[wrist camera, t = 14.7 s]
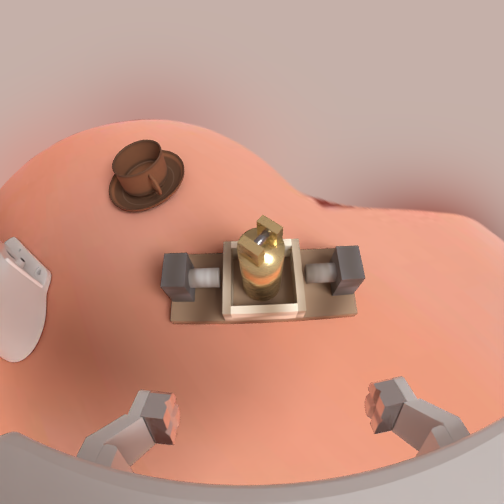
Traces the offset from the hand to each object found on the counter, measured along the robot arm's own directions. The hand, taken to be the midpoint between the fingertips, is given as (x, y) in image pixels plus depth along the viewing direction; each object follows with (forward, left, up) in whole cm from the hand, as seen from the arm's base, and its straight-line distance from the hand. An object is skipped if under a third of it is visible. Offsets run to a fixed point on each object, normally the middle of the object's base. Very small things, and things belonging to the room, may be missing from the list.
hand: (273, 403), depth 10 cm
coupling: (-8, +9, -17) cm, 21 cm away
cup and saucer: (-31, +12, -18) cm, 38 cm away
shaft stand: (-8, +9, -18) cm, 22 cm away
